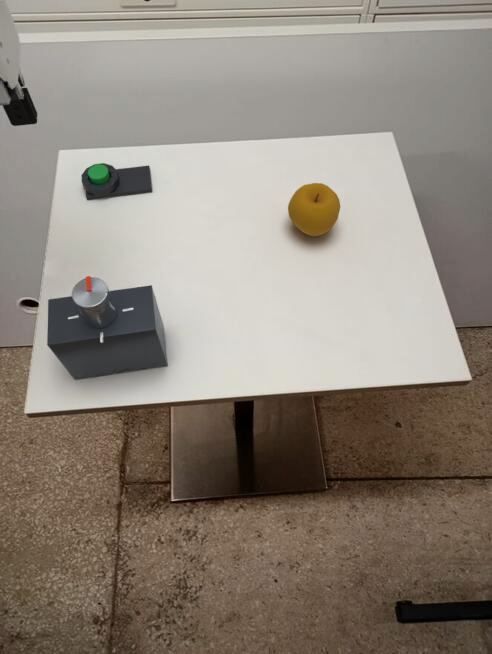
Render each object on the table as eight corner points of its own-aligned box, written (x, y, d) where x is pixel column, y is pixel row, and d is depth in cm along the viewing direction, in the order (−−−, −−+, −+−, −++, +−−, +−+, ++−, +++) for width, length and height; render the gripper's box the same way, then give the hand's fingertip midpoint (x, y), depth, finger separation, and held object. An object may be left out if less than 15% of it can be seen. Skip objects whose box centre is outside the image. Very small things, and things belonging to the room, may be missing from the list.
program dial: (119, 324, 66) (108, 302, 61) (85, 331, 65) (71, 308, 60) (115, 297, 68) (105, 272, 63) (83, 303, 67) (69, 279, 62)
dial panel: (74, 385, 75) (46, 350, 64) (74, 334, 79) (47, 293, 68) (168, 370, 76) (156, 334, 65) (163, 321, 80) (150, 279, 69)
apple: (279, 237, 88) (282, 202, 80) (297, 203, 92) (301, 167, 84) (324, 253, 86) (333, 219, 78) (341, 218, 90) (350, 183, 82)
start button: (90, 186, 90) (87, 180, 89) (89, 171, 92) (87, 165, 91) (110, 183, 91) (108, 177, 89) (109, 169, 92) (107, 163, 91)
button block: (85, 201, 92) (81, 191, 89) (85, 175, 95) (81, 165, 92) (152, 193, 93) (150, 183, 90) (149, 167, 96) (147, 157, 93)
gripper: (-77, -76, 51) (-2, 86, 67) (-99, 5, 44) (-9, 165, 60) (-1, -81, 52) (55, 81, 68) (-11, -2, 45) (54, 158, 61)
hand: (25, 120), depth 64 cm, fingers closed
